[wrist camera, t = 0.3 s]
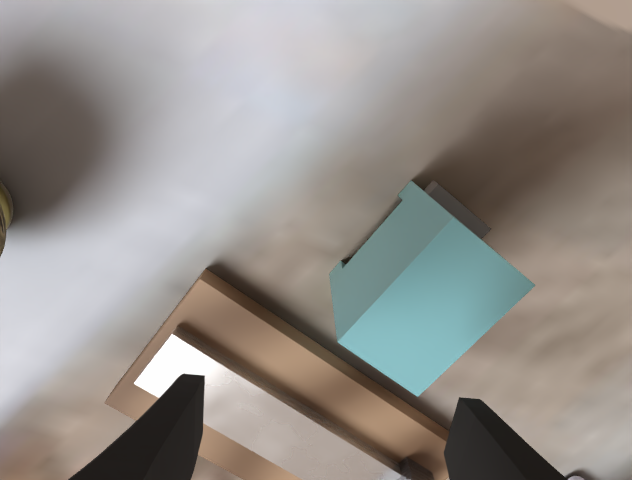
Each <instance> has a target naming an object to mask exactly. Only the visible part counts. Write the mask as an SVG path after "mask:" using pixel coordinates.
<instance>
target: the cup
mask: <svg viewBox="0 0 632 480" xmlns="http://www.w3.org/2000/svg"><path fill="white" fill-rule="evenodd" d="M12 218H13V202H12V199H11V196H10V194H9V192H8V190H7V189H6V187H5V186H4V185H3V183H2V182H1V181H0V256H1V254H2V252H3V249H4V246H5V239H6V230H7V228H8V227H9V225H10V223H11V221H12Z"/></svg>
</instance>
